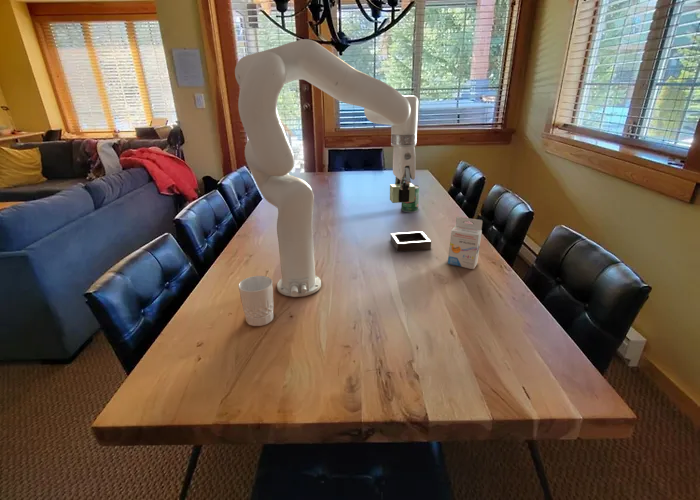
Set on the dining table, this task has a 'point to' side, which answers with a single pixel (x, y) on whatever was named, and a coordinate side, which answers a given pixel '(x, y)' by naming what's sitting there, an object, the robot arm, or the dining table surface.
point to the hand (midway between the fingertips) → (401, 199)
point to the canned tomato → (412, 205)
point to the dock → (410, 241)
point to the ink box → (465, 243)
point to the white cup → (257, 300)
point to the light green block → (395, 193)
